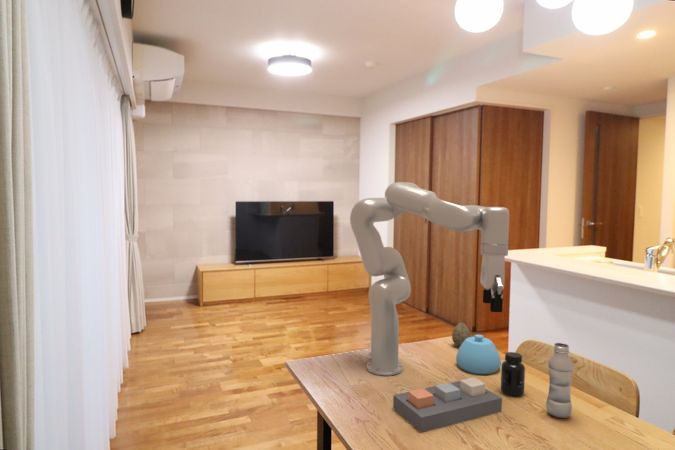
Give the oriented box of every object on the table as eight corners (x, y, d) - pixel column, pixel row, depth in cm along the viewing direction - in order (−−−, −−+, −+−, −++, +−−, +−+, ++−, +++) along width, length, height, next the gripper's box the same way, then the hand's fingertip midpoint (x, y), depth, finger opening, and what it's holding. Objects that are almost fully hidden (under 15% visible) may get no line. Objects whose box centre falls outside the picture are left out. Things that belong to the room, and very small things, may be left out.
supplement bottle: (526, 398, 136) (527, 359, 135) (502, 396, 138) (503, 357, 137) (521, 388, 143) (523, 351, 142) (499, 386, 144) (500, 349, 143)
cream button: (459, 394, 134) (460, 380, 133) (473, 391, 136) (473, 377, 135) (471, 402, 129) (471, 387, 129) (485, 398, 131) (485, 384, 131)
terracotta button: (407, 406, 127) (408, 391, 126) (422, 403, 129) (423, 388, 128) (418, 414, 122) (418, 398, 122) (433, 411, 124) (433, 395, 124)
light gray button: (434, 400, 130) (434, 385, 130) (448, 397, 132) (449, 382, 132) (445, 408, 126) (445, 392, 125) (460, 404, 128) (460, 389, 127)
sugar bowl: (476, 356, 170) (477, 326, 169) (509, 370, 158) (510, 337, 157) (447, 364, 163) (447, 333, 162) (479, 379, 150) (480, 345, 149)
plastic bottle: (569, 411, 128) (572, 342, 127) (573, 423, 122) (576, 350, 120) (544, 407, 130) (547, 339, 129) (547, 419, 124) (549, 347, 122)
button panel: (393, 408, 130) (393, 395, 130) (468, 391, 141) (468, 378, 141) (421, 432, 117) (421, 417, 117) (501, 411, 128) (501, 397, 128)
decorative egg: (460, 342, 186) (461, 318, 185) (474, 347, 180) (475, 323, 179) (448, 345, 182) (448, 321, 181) (461, 351, 176) (462, 326, 175)
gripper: (475, 245, 141) (473, 299, 142) (487, 253, 123) (485, 315, 125) (500, 245, 140) (498, 300, 141) (516, 254, 123) (513, 316, 124)
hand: (492, 307), depth 133 cm, fingers open, 9 cm apart
